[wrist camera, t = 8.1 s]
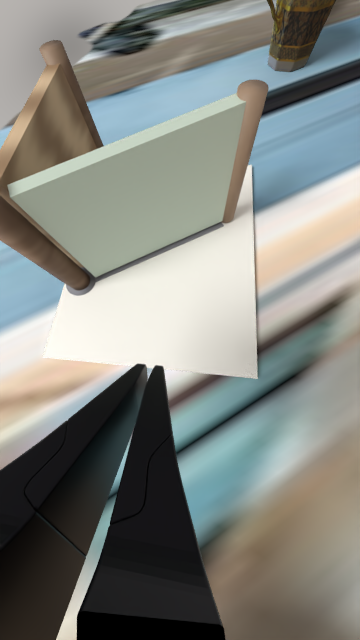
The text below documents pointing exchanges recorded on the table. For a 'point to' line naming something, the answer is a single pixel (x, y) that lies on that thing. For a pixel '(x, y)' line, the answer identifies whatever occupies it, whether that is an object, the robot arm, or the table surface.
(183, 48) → the table surface
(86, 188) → the folding panel
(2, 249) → the table surface
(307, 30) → the ceramic cup
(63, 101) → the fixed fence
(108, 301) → the card
